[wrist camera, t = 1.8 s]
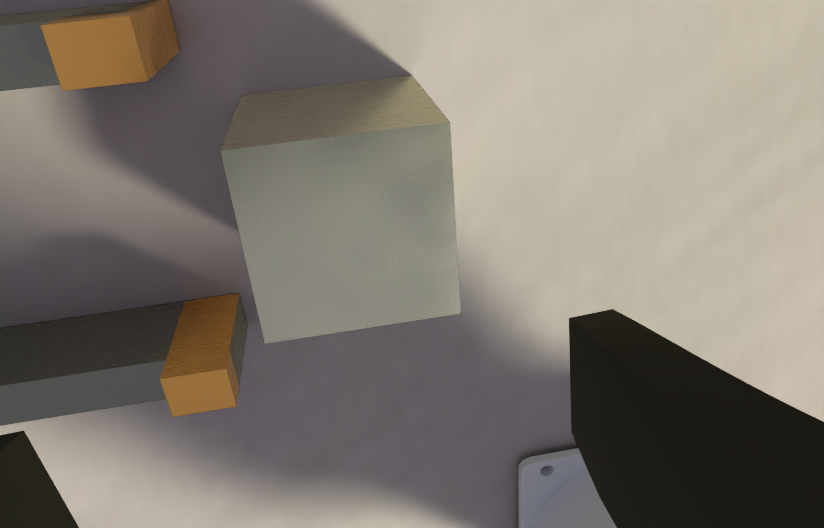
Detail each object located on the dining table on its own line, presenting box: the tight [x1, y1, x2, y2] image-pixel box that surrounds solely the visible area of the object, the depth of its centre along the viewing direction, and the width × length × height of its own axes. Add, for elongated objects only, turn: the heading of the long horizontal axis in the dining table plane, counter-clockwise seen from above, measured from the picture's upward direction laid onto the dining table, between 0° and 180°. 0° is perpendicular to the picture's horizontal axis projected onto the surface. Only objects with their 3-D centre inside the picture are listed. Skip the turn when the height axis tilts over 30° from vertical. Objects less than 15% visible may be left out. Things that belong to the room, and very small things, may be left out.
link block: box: [220, 75, 461, 344], centre depth 16 cm, size 4×4×5 cm
